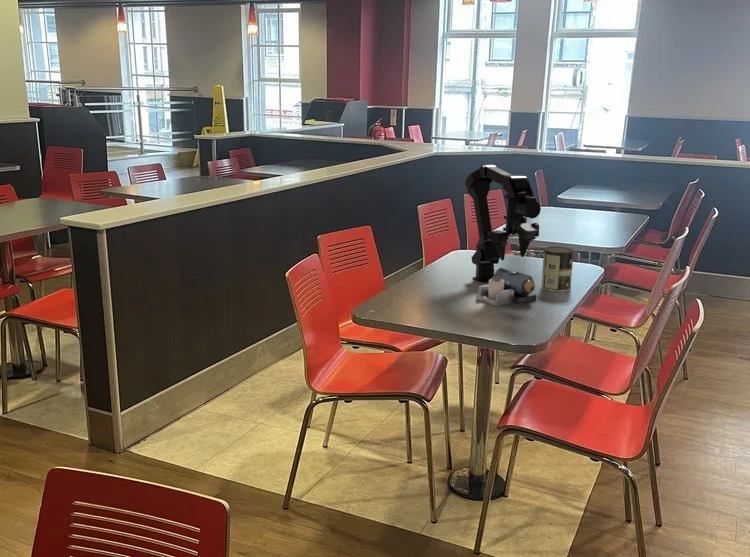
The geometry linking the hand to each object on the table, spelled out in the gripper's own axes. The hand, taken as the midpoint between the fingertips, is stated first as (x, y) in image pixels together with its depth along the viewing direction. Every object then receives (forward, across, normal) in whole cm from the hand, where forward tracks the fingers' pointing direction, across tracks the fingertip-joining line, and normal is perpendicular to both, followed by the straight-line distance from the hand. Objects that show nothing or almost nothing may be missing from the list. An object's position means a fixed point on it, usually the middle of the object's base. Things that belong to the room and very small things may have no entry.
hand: (512, 258), depth 238 cm
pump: (+12, -12, -5) cm, 17 cm away
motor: (+12, -8, -6) cm, 15 cm away
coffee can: (+12, +17, -5) cm, 22 cm away
